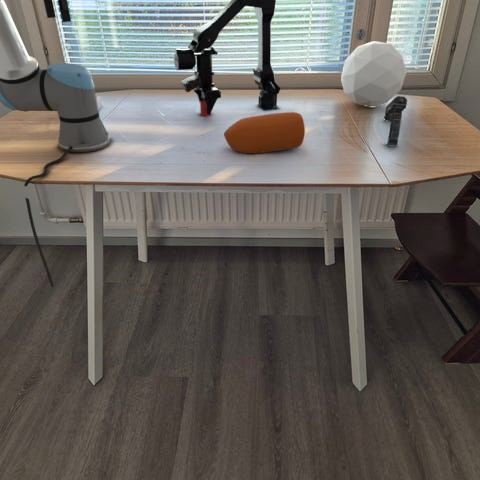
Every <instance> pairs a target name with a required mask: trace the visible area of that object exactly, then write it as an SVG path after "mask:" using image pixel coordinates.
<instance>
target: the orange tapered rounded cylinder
mask: <svg viewBox="0 0 480 480" xmlns="http://www.w3.org/2000/svg"><path fill="white" fill-rule="evenodd" d="M305 126H306V125H305V121H304V118H303V116H302V114H301V113H299V112H295V111H288V112H287V111H285V112H275V113H274V112H273V113H267V114H260V115H254V116H253V115H252V116H248V117H243V118H241V119H238V120H236V122H234V123H233V124H232V125H230V126H229V127H228V128H226V129H225V131H224V132H223V137H224V140H225V141H226V143H227V144H228V146H229V147H230V148H231V149H233V150H234V151H237V152H240V153H243V154H257V153H258V154H259V153H268V152H276V151H285V150H289V149H296V148H298V147H301V145H302V144H303V142H304V139H305V134H306V127H305Z"/></svg>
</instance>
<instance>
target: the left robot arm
mask: <svg viewBox="0 0 480 480" xmlns="http://www.w3.org/2000/svg"><path fill="white" fill-rule="evenodd" d="M42 1H43V4H44V9H45V13H46V17H47V19H54V18H56V17H57V16H56V12H55V8H54V7H55V6H54V3H53V0H42ZM57 4H58V8H59V13H60V17H61V22H62V23H68V22H70V23H71V22H72V18H71V14H70V13H71V12H70V9H69V3H68V0H57ZM46 67H47V68H44V69H43V68H41V67H40V65H39V63H38V60H37V59H36V58H35V57H34V56H31V55H29V53H28V51H27V49H26V46H25V45H24V42H23V39H22V38H21V36H20V33H19V31H18V29H17V27H16V24H15V22H14V20H13V18H12V14H11V13H10V10H9V8H8V5H7V3H6V1H5V0H0V103H1V104H2V105H3V106H4V107H5V108H7V109H9V110H12V111H16V112H17V111H18V112H57V114H58V118H59V132H58V133H59V134H58V145H59V148H60V149H61V150H62V151H64V153H63V154H62V155H61V157H59V158H58V159H55V160H52V161H50V162H48V163H46V164H45V165H44V167H43V172H42V173H40V174H36V175H32V176H30V177H28V178H27V179H26V180H25V182H24V184H23V187H28V186H29V183H31V181H33V180H36V179H39V178H43V177H45V176H46V175H47V173H48V168H49V167H50V166H53V165H55V164H58V163H60V162H61V161H63V160H64V159H65V158H66V157H67V155H68V153H74V154H76V153H77V154H81V153H82V154H83V153H90V152H96V151H99V150H102V149H104V148H106V147H107V146H108V145H109V144H110V143H111V140H110V139H111V138H110V135H109V133H108V130H107V129H106V127H105V125H104V123H103V121H102V120H101V116H100V112H99V110H98V105H97V100H96V95H97V94H96V89H95V83H94V81H93V75H92V73H91V71H90V70H89V69H88V68H87V67H85V66H83V65H80V64H76V63H70V62H69V63H68V62H60V63H59V62H55V63H51V64H48V65H47V66H46ZM24 199H25V204H26V208H27V209H26V210H27V214H28V219H29V223H30V228H31V232H32V236H33V238H34V241H35V244H36V248H37V251H38V253H39V255H40V258H41V261H42V264H43V266H44V270H45V273H46V275H47V278H48V281H49V284H50V287H51V288H53V287H54V286H55V285H54V282H53V279H52V276H51V272H50V269H49V266H48V264H47V261H46V259H45V256H44V253H43V250H42V247H41V244H40V241H39V238H38V234H37V231H36V227H35V223H34V219H33V214H32V210H31V209H32V208H31V203H30V199H29V198H28V197H24Z"/></svg>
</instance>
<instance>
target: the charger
mask: <svg viewBox="0 0 480 480" xmlns="http://www.w3.org/2000/svg"><path fill="white" fill-rule="evenodd" d="M96 100H97V105H98V111H99V110H100V109H101V108H102V107H103V102H102V96H100V95H99V94H96Z"/></svg>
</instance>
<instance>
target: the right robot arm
mask: <svg viewBox="0 0 480 480" xmlns="http://www.w3.org/2000/svg"><path fill="white" fill-rule="evenodd" d="M276 5H277V0H230V1H229V2H228V3H227V4H226V5H225V6H224V7H223V8H222V9H221V10H220V11H219V12H218V13H217V14H216V15H215V16H214V17H213V18H212V19H211V20H210V21H208V22H206V23H204V24H202V25H201V26H199V27H198V28H197V29H195V30H194V32H193V34H192V39H191V41H190V43H189V45H188V47H187V48H175V50H174V51H175V52H174V57H173V64H174V67H175V70H176V71H186V70H193V69H194V68H196V69H195V70H194V71H193V73H194V74H193V75H191V76H189V77H186V78H185V79H182V80H181V81H180V83H181V86H182V88H183V90H184V91H185V92H186V93H190V92H191V91H193V92H194V93H195V94H196V96H197V98H198V102H199V103H200V101H202V100H205V105H206V110H207V114H208V115H209V116H211V113H212V111H213V110H214V106H215V104H216V103H217V101H218V99H221V98H222V91H221V90H220V89H218V88H217V87H216V86H215V83H214V82H213V76H215V71H213V56H214V55H215V56H217V55H218V54H219V53H218V51H216V50H215V48H214V47H213V45H214V44H215V42H216V41H217V40H218V38H219V35H220V34H221V31H222V30H223V29H224V28H225V27H226V26H227V25H228V24H229V23H230V22H231V21H232V20H233V19H234V18H235V17H236V16H237V15H238V14H239V13H240V12H241V11H242V10H243V9H244V8H245V7H252V8H253V10H254V14H255V17H256V21H257V45H258V46H257V48H258V50H257V51H258V53H257V55H258V59H257V60H258V61H257V62H258V63H257V66H256V68H255V67H254V68H252V71H253V77H252V79H253V80H254V83H255V84H256V85H257V88H258V90H260V91H259V94H258V101H257V102H258V104H257V107H259V108H260V109H261V110H263V111H267V110H276V109H279V106H278V105H277V104H278V94H279V93H280V91H281V87H280V86H279V84H278V83H277V82H276V77H275V72H274V68H273V66H272V20H273V18H274V15H275V11H276Z"/></svg>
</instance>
